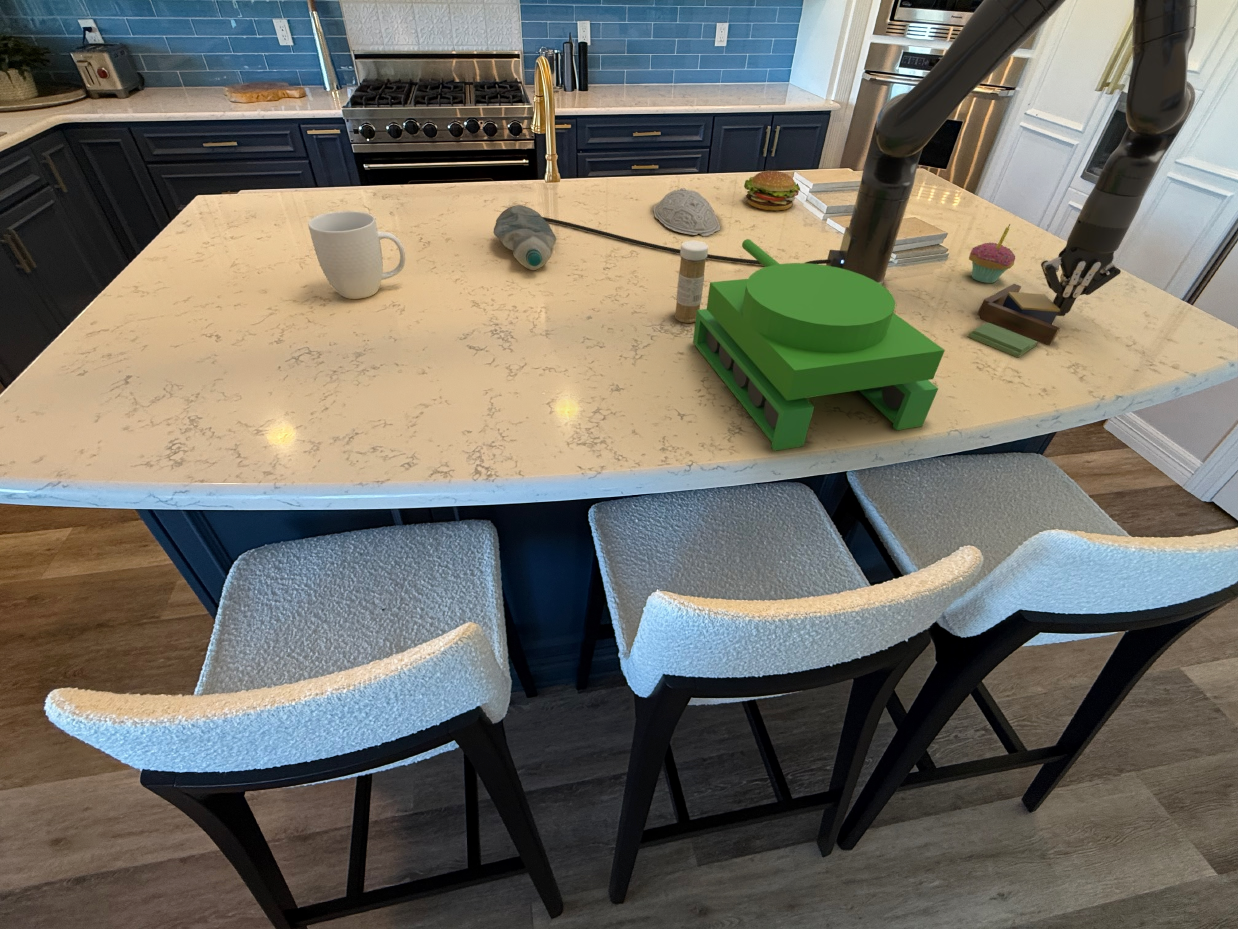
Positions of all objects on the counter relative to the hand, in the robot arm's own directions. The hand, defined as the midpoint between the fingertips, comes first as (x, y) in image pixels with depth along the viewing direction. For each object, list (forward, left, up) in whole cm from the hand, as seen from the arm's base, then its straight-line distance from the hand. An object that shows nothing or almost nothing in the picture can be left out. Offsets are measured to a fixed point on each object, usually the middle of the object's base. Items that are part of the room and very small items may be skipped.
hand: (1057, 314), depth 116 cm
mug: (-128, -9, -2) cm, 129 cm away
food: (-47, +60, -2) cm, 77 cm away
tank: (-51, -26, -2) cm, 58 cm away
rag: (-13, -9, -2) cm, 16 cm away
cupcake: (-6, +19, -2) cm, 20 cm away
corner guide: (-9, 0, -2) cm, 9 cm away
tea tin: (-5, 0, -2) cm, 6 cm away
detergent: (-102, +14, -2) cm, 103 cm away
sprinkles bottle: (-68, -10, -2) cm, 69 cm away
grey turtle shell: (-69, +44, -2) cm, 82 cm away
